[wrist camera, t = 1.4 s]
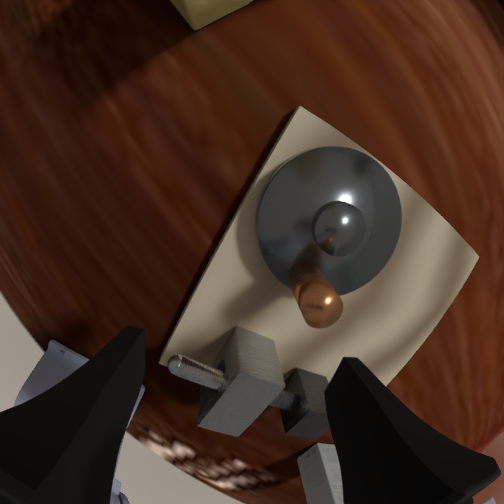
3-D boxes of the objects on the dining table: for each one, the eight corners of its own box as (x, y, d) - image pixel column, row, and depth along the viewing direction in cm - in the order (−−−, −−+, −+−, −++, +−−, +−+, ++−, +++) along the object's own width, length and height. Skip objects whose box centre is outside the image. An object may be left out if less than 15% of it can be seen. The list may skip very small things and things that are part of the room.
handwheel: (227, 251, 17) (228, 290, 12) (304, 116, 15) (336, 104, 10) (343, 307, 19) (373, 351, 14) (413, 197, 17) (462, 215, 12)
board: (160, 355, 21) (158, 363, 20) (295, 108, 16) (299, 106, 15) (349, 412, 26) (352, 418, 25) (472, 252, 20) (479, 256, 19)
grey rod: (166, 352, 19) (155, 397, 15) (181, 323, 19) (171, 368, 14) (305, 399, 22) (317, 439, 18) (326, 376, 21) (342, 416, 17)
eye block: (200, 379, 21) (197, 426, 16) (236, 325, 19) (239, 372, 15) (234, 391, 21) (237, 436, 17) (273, 339, 20) (285, 386, 15)
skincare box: (295, 458, 28) (313, 538, 17) (316, 441, 27) (342, 527, 16) (331, 461, 30) (353, 532, 18) (352, 445, 29) (380, 519, 17)
